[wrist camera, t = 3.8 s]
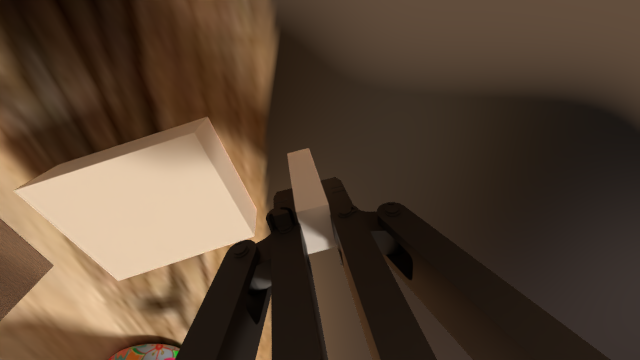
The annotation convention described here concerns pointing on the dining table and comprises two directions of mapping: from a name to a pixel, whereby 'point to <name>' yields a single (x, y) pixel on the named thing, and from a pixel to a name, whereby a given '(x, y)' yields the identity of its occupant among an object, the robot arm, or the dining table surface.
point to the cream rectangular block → (147, 200)
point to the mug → (147, 352)
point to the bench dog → (17, 268)
